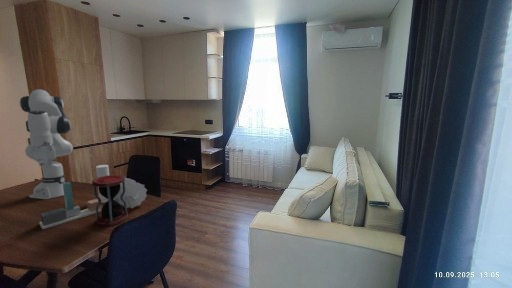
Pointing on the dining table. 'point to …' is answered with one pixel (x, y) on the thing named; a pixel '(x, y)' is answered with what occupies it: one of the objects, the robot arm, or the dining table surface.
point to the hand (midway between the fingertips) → (45, 166)
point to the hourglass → (110, 200)
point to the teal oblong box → (69, 200)
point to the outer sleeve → (53, 216)
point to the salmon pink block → (93, 205)
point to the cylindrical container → (101, 171)
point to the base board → (70, 218)
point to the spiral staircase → (131, 193)
